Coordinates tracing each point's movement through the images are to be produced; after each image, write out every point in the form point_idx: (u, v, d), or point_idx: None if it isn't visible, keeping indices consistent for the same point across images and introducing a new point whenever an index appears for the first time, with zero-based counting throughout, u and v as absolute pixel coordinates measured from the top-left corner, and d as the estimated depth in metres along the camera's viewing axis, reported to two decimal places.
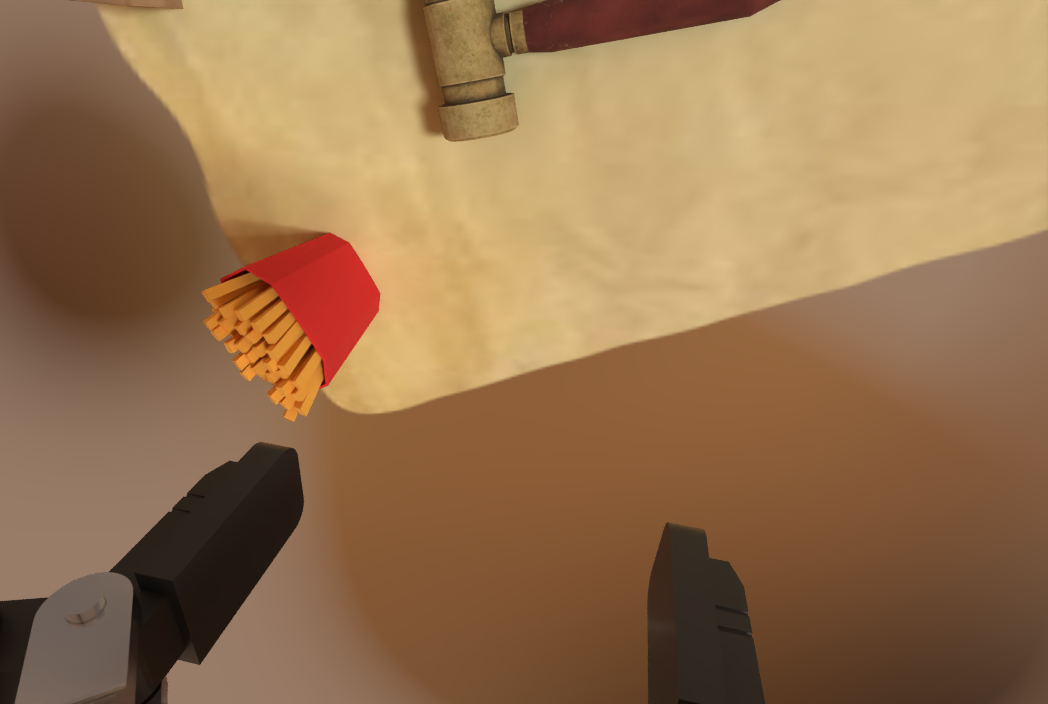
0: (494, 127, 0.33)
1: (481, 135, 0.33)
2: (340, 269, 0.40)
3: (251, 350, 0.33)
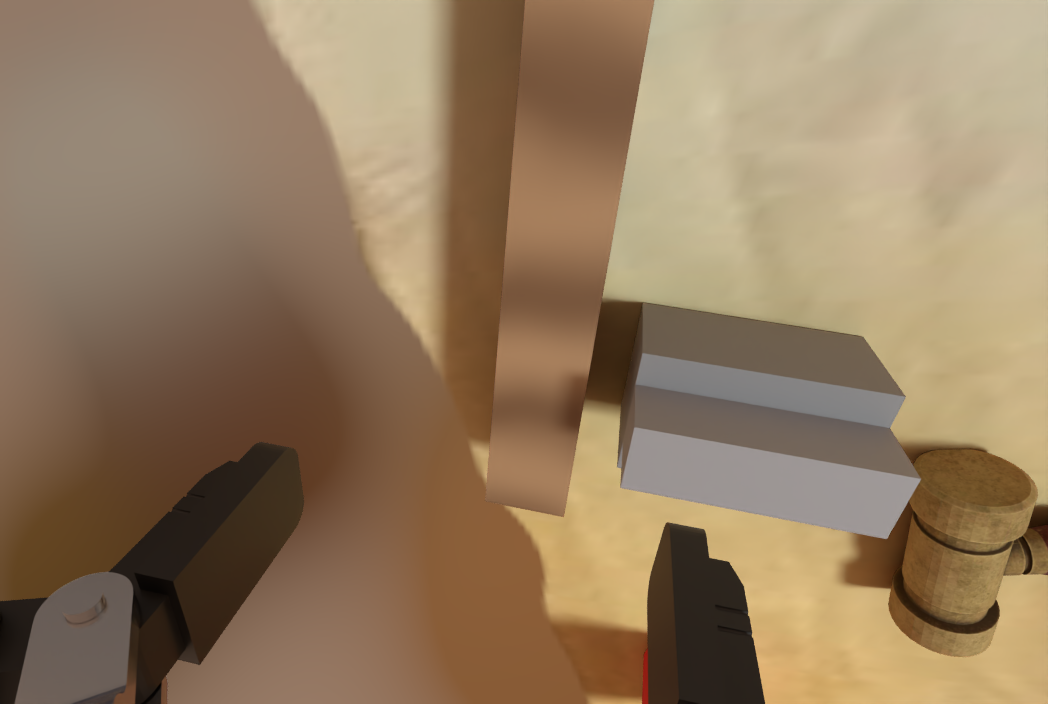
0: (985, 647, 0.29)
1: (969, 655, 0.29)
2: None
3: None
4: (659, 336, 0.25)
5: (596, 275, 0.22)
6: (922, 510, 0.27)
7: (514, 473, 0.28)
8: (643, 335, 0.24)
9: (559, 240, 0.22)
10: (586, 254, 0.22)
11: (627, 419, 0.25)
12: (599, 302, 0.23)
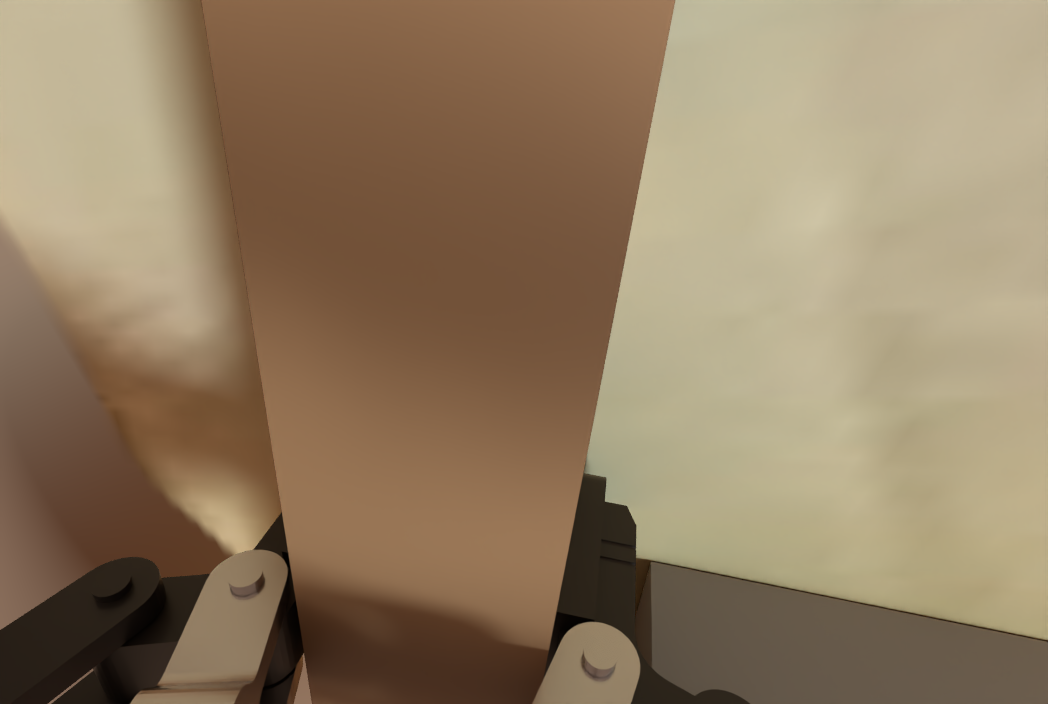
0: None
1: None
2: None
3: None
4: None
5: (522, 661, 0.09)
6: None
7: None
8: None
9: (422, 587, 0.08)
10: (492, 620, 0.08)
11: None
12: None
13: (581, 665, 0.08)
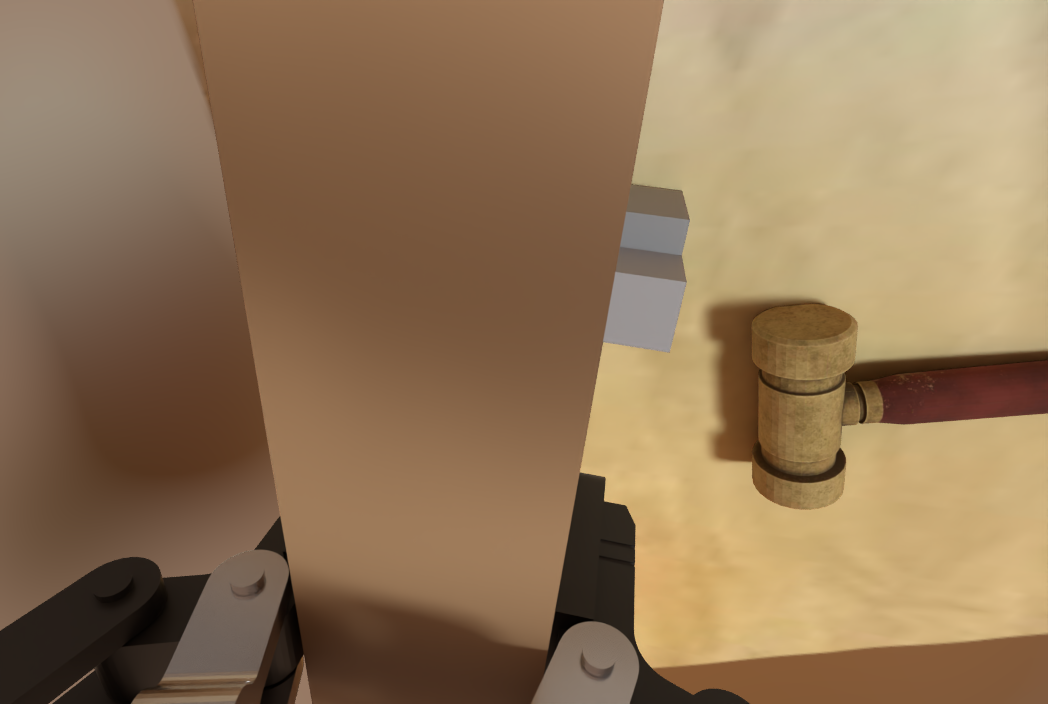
0: (832, 499, 0.30)
1: (817, 507, 0.30)
2: None
3: None
4: None
5: (520, 662, 0.09)
6: (757, 357, 0.28)
7: None
8: None
9: (421, 589, 0.08)
10: (491, 622, 0.08)
11: None
12: None
13: (580, 664, 0.08)
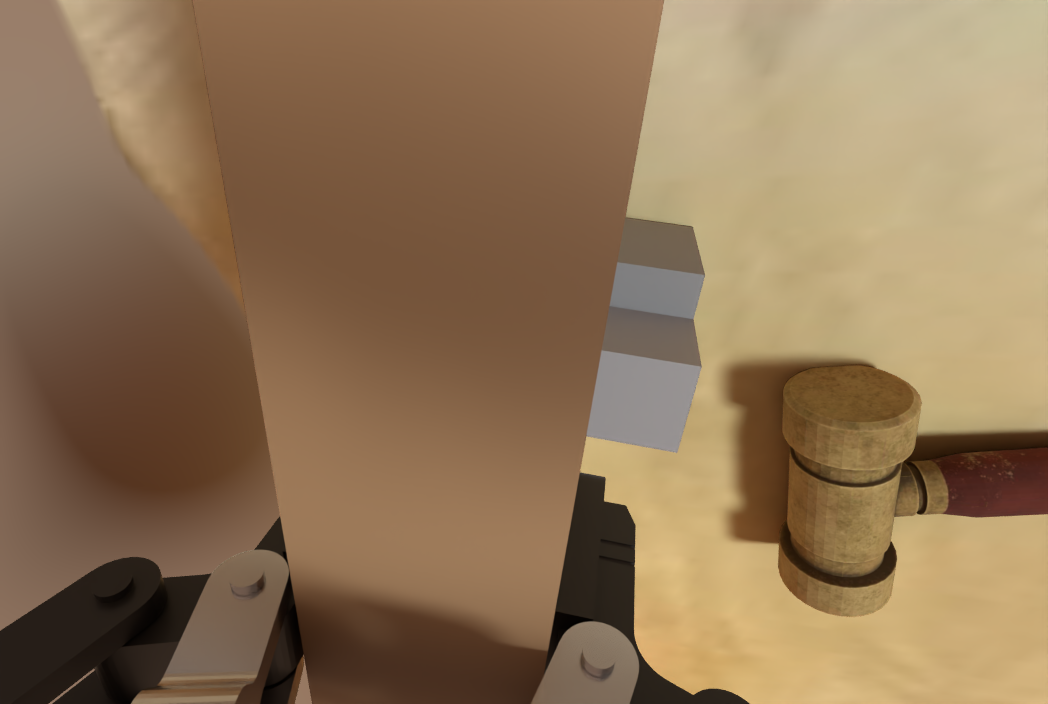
0: (880, 604, 0.24)
1: (861, 614, 0.24)
2: None
3: None
4: None
5: (520, 663, 0.09)
6: (791, 435, 0.22)
7: None
8: None
9: (420, 590, 0.08)
10: (491, 623, 0.08)
11: None
12: None
13: (580, 664, 0.08)
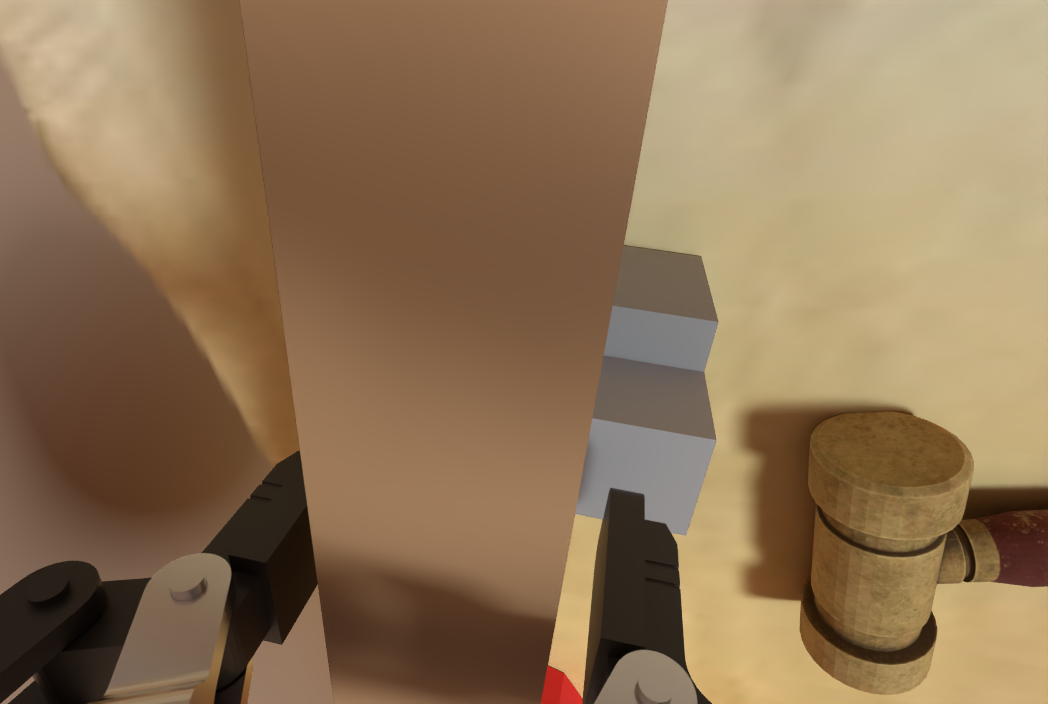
0: (918, 681, 0.21)
1: (897, 692, 0.21)
2: None
3: None
4: None
5: (530, 626, 0.09)
6: (820, 494, 0.20)
7: None
8: None
9: (437, 554, 0.09)
10: (503, 586, 0.09)
11: None
12: (542, 670, 0.10)
13: (636, 697, 0.08)
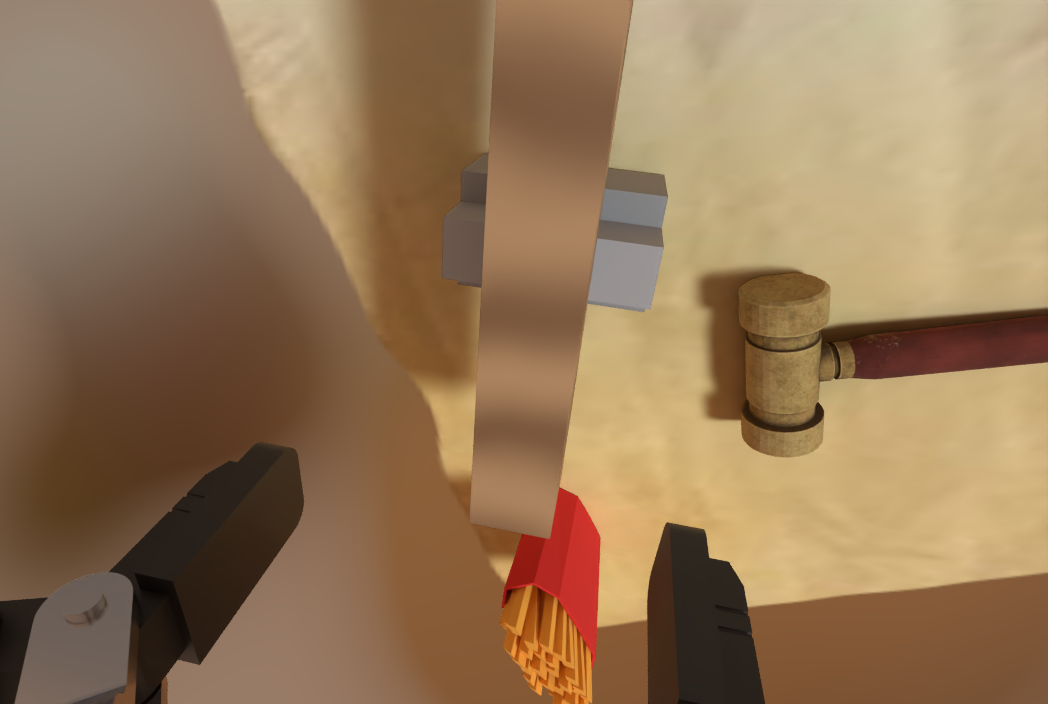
0: (812, 447, 0.34)
1: (799, 455, 0.34)
2: (581, 535, 0.41)
3: None
4: (484, 165, 0.30)
5: (576, 294, 0.22)
6: (743, 320, 0.32)
7: (498, 494, 0.27)
8: (470, 164, 0.30)
9: (538, 258, 0.21)
10: (565, 272, 0.21)
11: None
12: (580, 321, 0.22)
13: None
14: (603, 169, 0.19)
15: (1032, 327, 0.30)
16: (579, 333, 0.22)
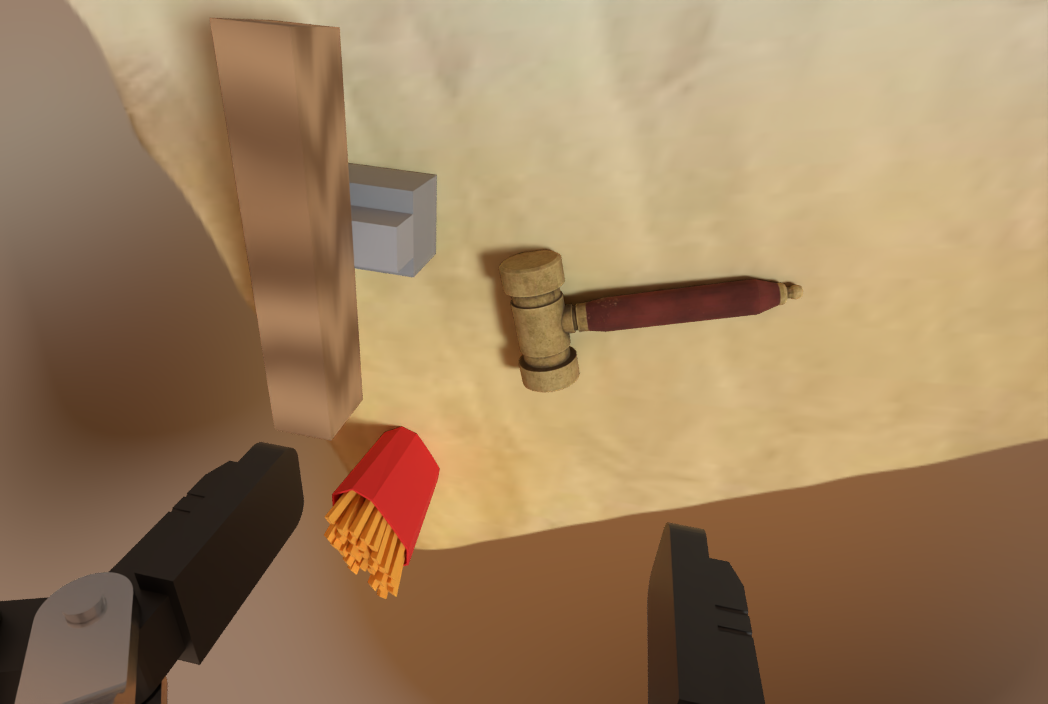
0: (563, 384, 0.44)
1: (554, 390, 0.44)
2: (413, 462, 0.52)
3: (357, 552, 0.45)
4: None
5: (306, 256, 0.32)
6: (502, 285, 0.42)
7: (289, 406, 0.37)
8: None
9: (277, 232, 0.32)
10: (296, 241, 0.32)
11: None
12: (313, 275, 0.32)
13: None
14: (303, 172, 0.30)
15: (709, 291, 0.41)
16: (315, 284, 0.33)
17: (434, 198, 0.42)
